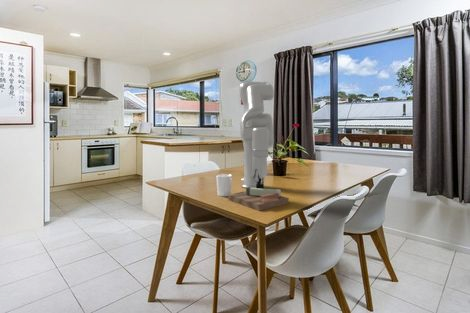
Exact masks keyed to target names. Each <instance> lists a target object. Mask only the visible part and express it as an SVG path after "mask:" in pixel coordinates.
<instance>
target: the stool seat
mask: <svg viewBox="0 0 470 313" xmlns="http://www.w3.org/2000/svg"><path fill="white" fill-rule="evenodd" d="M289 199H290V198H289V197H286V196H283V195H280V197H279V193H272V194H267V195H262V196H255V195H246V190H245V191H241V192H235V193H231V194H229V195H228V196H227V200H228V201H230V202H233V203H235V204H239V205H242V206H245V207H247V208H250V209H253V210H254V211H255V210H256V211H262V210H268V209H271V208H276V207H280V206H285V205H288V204H290V203H289V201H290V200H289Z"/></svg>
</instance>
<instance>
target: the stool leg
mask: <svg viewBox="0 0 470 313" xmlns="http://www.w3.org/2000/svg"><path fill="white" fill-rule="evenodd" d="M245 189H246V190H245V191H246V195H255V196H262V195H267V194H272V193H279V197H280V196H282V195H281V191H282V190H281V188H277V189H276V188H275V189H272V188H264V189H262V188H251V187H247V188H245Z"/></svg>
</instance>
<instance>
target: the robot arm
mask: <svg viewBox="0 0 470 313" xmlns="http://www.w3.org/2000/svg"><path fill="white" fill-rule="evenodd" d="M239 96H240V100H241V102H242V105H243V113H244V114H243V115H242V117H241V119H240V123H239V128H240V129H239V130H240V139H241V141H242V144H243V159H244V161H243V165H244V166H243V169H244V170H243V172H244V173H243V175H244V177H243V178H240V179H241V181H242V183H241V187H242V188H243V189H246V188H247V187H251V188H262V189H265V177H266V176H267V175H268V158H269V149H270V148H273V146H274V143H275V142H274V141H275V140H274V139H275V138H274V124H273V123H274V122H273V118H272V115H271V114H270V113H268V112H267V113H264V112H265V104H264V101H272V100H273V98H274V96H275V92H274V87H273V85H272V83H270V82H268V81H244V82H242V83H241V84H240V85H239Z"/></svg>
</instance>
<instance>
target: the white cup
mask: <svg viewBox="0 0 470 313" xmlns="http://www.w3.org/2000/svg"><path fill="white" fill-rule="evenodd" d="M215 177H216V190H217V196H219V197H228V195H229V194H232V193H231V192H232V183H233V182H232V180H233V178H232V177H233V175H232V174H225V173H222V174H217V175H216V176H215Z"/></svg>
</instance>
